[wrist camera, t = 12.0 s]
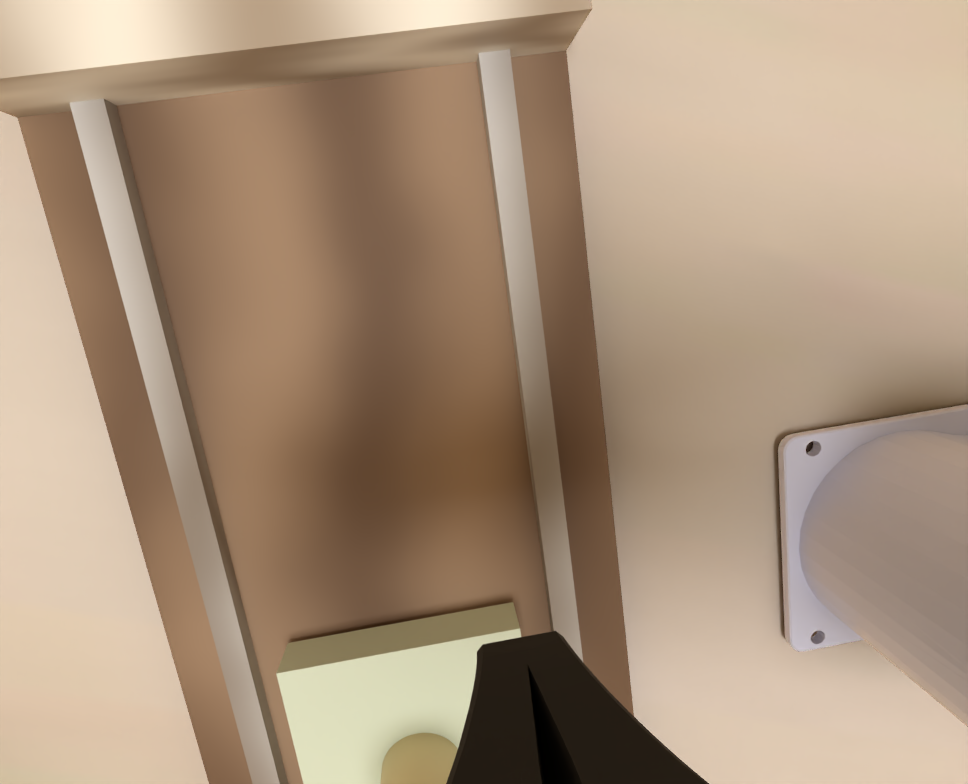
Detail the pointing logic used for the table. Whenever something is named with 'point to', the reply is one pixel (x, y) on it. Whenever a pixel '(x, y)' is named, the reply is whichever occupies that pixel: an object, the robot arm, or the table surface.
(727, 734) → the table surface
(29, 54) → the rail
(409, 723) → the carriage
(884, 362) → the table surface
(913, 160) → the table surface
